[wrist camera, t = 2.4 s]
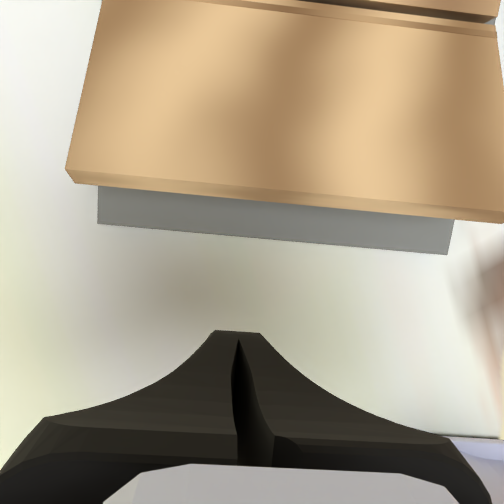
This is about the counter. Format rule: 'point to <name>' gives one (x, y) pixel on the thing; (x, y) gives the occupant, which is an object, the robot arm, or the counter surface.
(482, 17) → the strip
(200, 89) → the plank
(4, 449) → the counter surface
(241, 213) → the underlay
